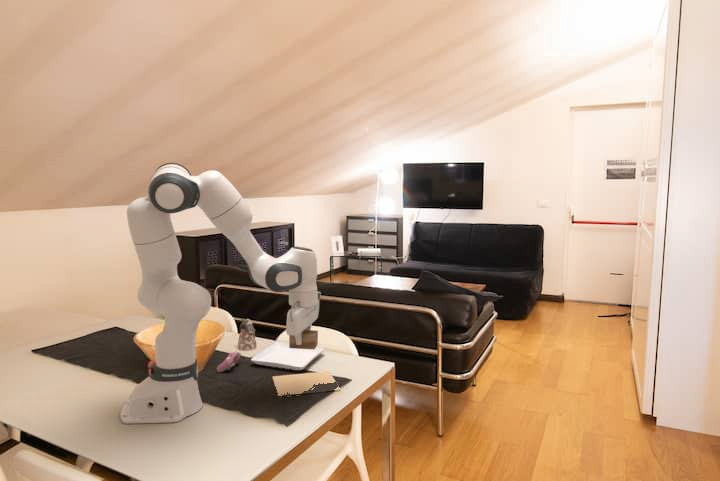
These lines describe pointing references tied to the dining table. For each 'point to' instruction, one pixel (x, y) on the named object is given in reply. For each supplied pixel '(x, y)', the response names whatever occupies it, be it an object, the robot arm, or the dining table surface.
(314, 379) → the cork mat
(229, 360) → the pink oblong lump
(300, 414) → the dining table surface
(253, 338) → the figurine
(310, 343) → the walnut card box
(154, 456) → the dining table surface
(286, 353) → the salad plate
